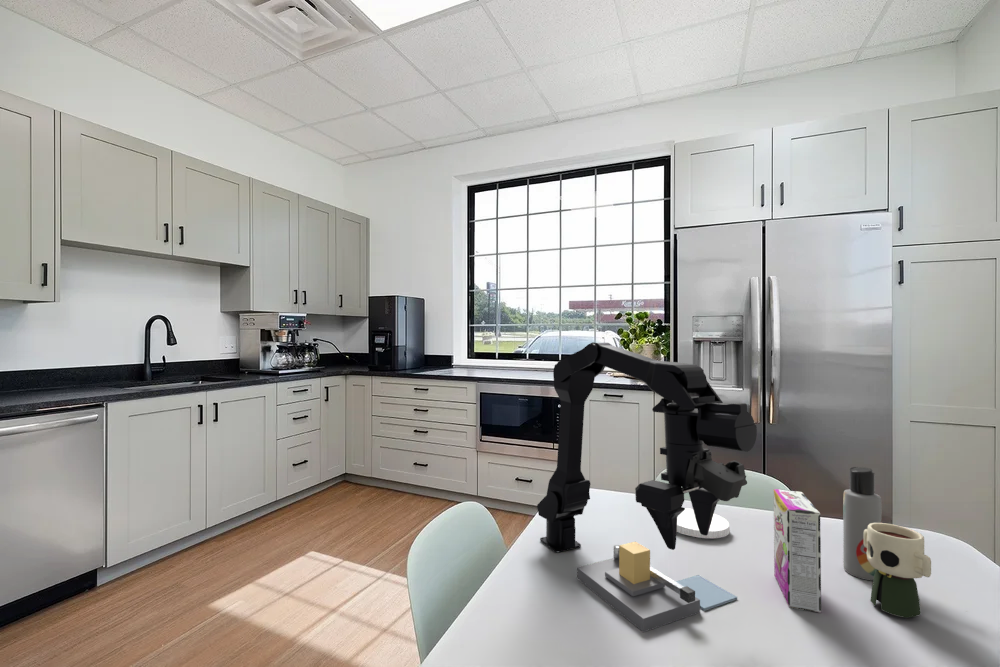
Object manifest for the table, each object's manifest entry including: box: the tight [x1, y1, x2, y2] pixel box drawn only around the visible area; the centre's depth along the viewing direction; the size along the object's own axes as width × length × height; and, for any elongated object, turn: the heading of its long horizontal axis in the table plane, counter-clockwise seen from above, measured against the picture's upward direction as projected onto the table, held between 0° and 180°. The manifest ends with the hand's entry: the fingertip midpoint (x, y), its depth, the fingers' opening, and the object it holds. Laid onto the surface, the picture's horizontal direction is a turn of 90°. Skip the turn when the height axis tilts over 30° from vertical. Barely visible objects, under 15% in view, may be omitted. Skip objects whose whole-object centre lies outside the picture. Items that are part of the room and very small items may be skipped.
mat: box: [675, 574, 738, 612], centre depth 79 cm, size 8×8×1 cm
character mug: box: [864, 522, 932, 619], centre depth 75 cm, size 11×7×13 cm, turn 7°
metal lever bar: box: [613, 544, 695, 603], centre depth 79 cm, size 18×2×2 cm, turn 26°
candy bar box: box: [773, 488, 822, 614], centre depth 79 cm, size 11×5×16 cm, turn 160°
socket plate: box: [576, 557, 701, 633], centre depth 78 cm, size 17×12×2 cm
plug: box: [605, 541, 665, 596], centre depth 78 cm, size 7×7×8 cm
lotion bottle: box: [842, 466, 882, 581], centre depth 87 cm, size 6×6×20 cm
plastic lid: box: [677, 507, 731, 539], centre depth 107 cm, size 14×14×2 cm
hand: (688, 541), depth 72 cm, fingers open, 9 cm apart
